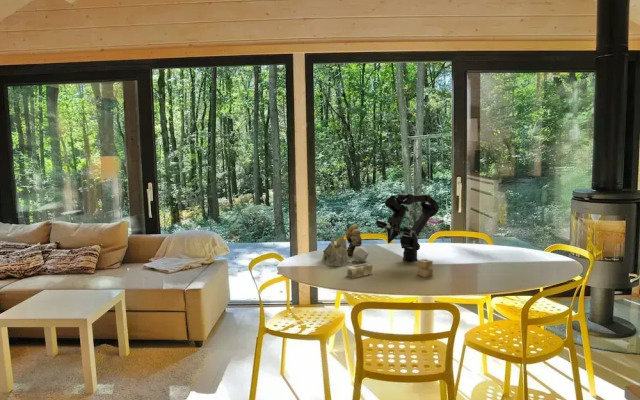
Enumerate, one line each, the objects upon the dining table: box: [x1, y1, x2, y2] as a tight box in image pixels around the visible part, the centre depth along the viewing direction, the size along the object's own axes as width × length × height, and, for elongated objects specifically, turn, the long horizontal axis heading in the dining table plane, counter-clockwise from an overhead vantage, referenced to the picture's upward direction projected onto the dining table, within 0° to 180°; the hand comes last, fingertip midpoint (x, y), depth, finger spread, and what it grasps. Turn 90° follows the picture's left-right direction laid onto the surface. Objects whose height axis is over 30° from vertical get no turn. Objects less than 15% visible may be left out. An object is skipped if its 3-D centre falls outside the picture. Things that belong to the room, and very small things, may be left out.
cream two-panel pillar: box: [346, 263, 373, 279], centre depth 217 cm, size 5×4×12 cm
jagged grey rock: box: [321, 234, 350, 267], centre depth 242 cm, size 16×16×15 cm
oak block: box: [416, 258, 434, 278], centre depth 215 cm, size 5×5×7 cm
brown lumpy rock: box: [345, 224, 363, 257], centre depth 262 cm, size 18×12×17 cm, turn 1°
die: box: [352, 246, 369, 263], centre depth 244 cm, size 8×9×10 cm
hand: (388, 243), depth 232 cm, fingers closed
